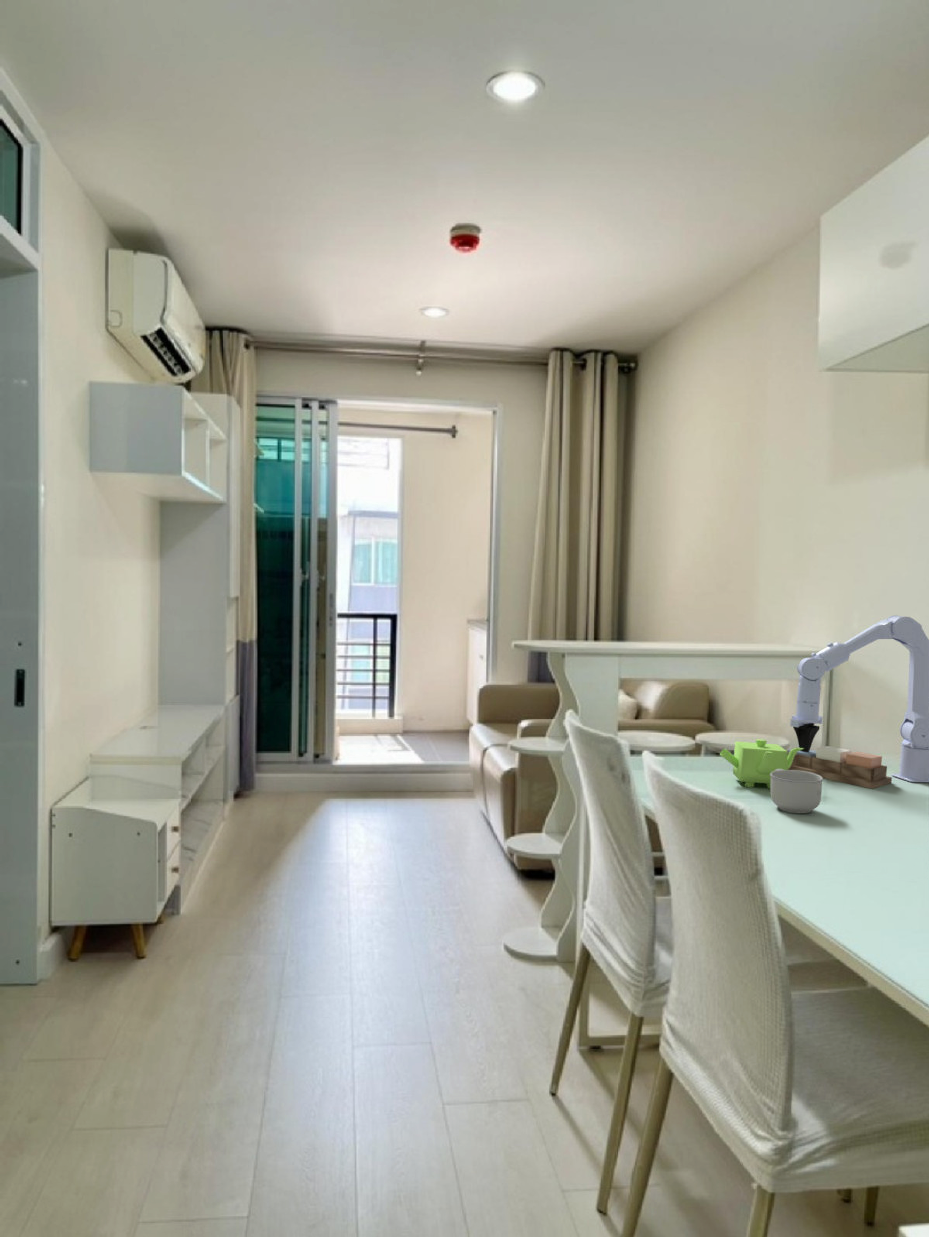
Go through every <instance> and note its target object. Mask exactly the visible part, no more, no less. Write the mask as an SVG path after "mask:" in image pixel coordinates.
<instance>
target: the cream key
mask: <svg viewBox="0 0 929 1237" xmlns="http://www.w3.org/2000/svg"><path fill="white" fill-rule="evenodd" d="M815 751H816V758H820V759H825V760H830V761H835V762H840V763H842V762H846V755H847V754H848V753H852V750H850V749H846V748H840V747H839V748H838V747H834V746H828V745H826V746H821V747H816V750H815Z"/></svg>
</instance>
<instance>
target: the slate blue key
mask: <svg viewBox="0 0 929 1237" xmlns="http://www.w3.org/2000/svg"><path fill="white" fill-rule="evenodd" d="M792 749H793V748H792ZM792 749H788V750H787V751H788V752H789V753H790V751H791V750H792ZM816 751H817V750H811V749H810V750H809V752H803V751H798V752H797V753H796V754H799V755H804V756H810V757H813V756H816Z"/></svg>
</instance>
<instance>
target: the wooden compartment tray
mask: <svg viewBox="0 0 929 1237" xmlns="http://www.w3.org/2000/svg"><path fill="white" fill-rule="evenodd" d="M786 751H787V752H788V750H786ZM788 755H789V752H788ZM788 755H787V757H788ZM887 769H888V766H887V765H882V764H881V767H878V768H874V769H871V768H865V767H860V766H855V765H850V764H846V762H842V763H840V762H835V761H830V760H825V759H820V758H816V756H813V757H810V756H804V755H799V754H796V755H795V756H794V759H793V762H792V764H791V766H790V768H789V769H788V770H799V771H806V772H811V773H815V774H818V775H820V776H821V777H822V778H823V779H825V780H830V781H833V782H839V783H844V784H848V785H849V784H850V785H853V786H857V787H863V788H867V789H875V788H880V787H883V786H887V785H890V784H892V781H893V780H892V779H893V777H890V776H887V774H888V772H887Z"/></svg>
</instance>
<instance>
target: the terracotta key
mask: <svg viewBox="0 0 929 1237" xmlns="http://www.w3.org/2000/svg"><path fill="white" fill-rule="evenodd" d="M882 759H883V756H882V755H878V754H872V753H866V752H862V751H853V752H851V753H848V754H847V755H846V764H850V765H855V766H860V767H865V768H871V769H874V768H878V767H881V765H882Z"/></svg>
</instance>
